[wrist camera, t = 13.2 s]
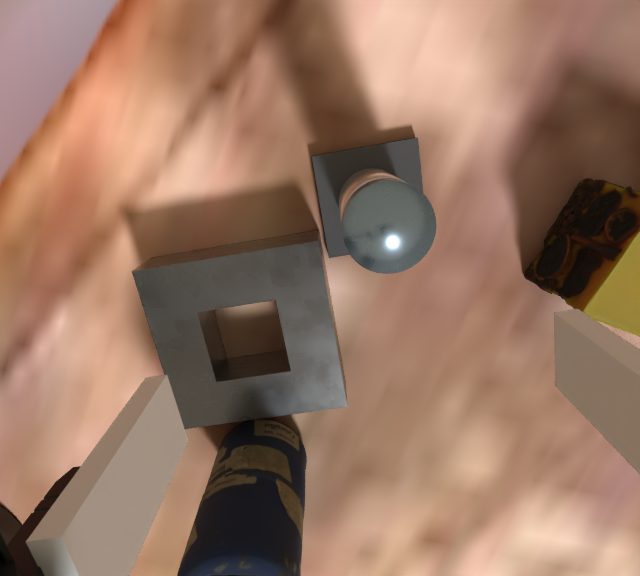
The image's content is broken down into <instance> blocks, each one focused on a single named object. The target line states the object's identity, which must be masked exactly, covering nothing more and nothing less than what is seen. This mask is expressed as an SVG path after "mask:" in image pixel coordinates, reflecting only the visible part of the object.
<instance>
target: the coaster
mask: <svg viewBox="0 0 640 576" xmlns="http://www.w3.org/2000/svg"><path fill="white" fill-rule="evenodd" d="M312 161H313V167H314V173H315V179H316V184H317V190H318V196H319V202H320V208H321V214H322V220H323V226H324V231H325V237H326V243H327V249H328V255H329V258H331V257H338V256H344V255H350V254H349V252H348V250H347V248H346V246H345V243H344V240H343V235H342V227H341V219H340V211H339V194H340V190H341V188H342V186H343V184H344V183H345V181H346V180H347V179H348V178H349V177H350V176H351V175H352V174H354V173H355V172H357V171H359V170H362V169H366V168H377V169H381V170H384V171H386V172H388V173H390V174H392V175H394V176H395V177H397V178H399V179H401V180H403V181H405V182H406V183H408V184H410V185H412V186H414V187H415V188H417V189H418V190H420V191H421V192H422V193H423V186H422V176H421V166H420V155H419V145H418V138H411V139H405V140H400V141H394V142H389V143H383V144H377V145H372V146H366V147H360V148H355V149H349V150H344V151H338V152H332V153H327V154H321V155H316V156H312Z"/></svg>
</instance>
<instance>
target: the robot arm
mask: <svg viewBox="0 0 640 576" xmlns="http://www.w3.org/2000/svg"><path fill="white" fill-rule="evenodd" d="M554 355H555V386H556V387H557V388H558V389H559V390H560V391H561V392H562V393H563V394H564V396H565V397H566V398H567V399H568V400H569V401H570V402H571V403H572V404H573V405H574V406H575V407H576V408H577V409H578V410H579V411H580V412H581V413H582V414H583V415H584V416H585V418H586V419H587V420H588V421H589V422H590V423H591V424H592V425H593V426H594V427H595V428H596V429H597V430H598V431H599V432H600V433H601V434H602V435H603V436H604V437H605V439H606V440H607V441H608V442H609V443H610V444H611V445H612V446H613V447H614V448H615V449H616V450H617V451H618V452H619V453H620V454H621V455H622V456H623V457H624V458H625V459H626V461H627V462H628V463H629V464H630V465H631V466H632V467H633V468H634V469H635V470H636V471H637V472H638V473H639V474H640V349H638V348H637V347H635V346H634V345H632V344H631V343H629V342H628V341H626V340H624V339H623V338H621V337H620V336H618V335H617V334H615V333H614V332H612V331H611V330H609V329H608V328H606V327H605V326H603V325H602V324H600V323H599V322H597V321H596V320H594V319H593V318H591V317H589V316H588V315H586V314H585V313H583V312H582V311H580V310H579V309H573V310H567V311H560V312H554ZM187 443H188V438H187V435H186V432H185V429H184V426H183V423H182V420H181V417H180V413H179V410H178V407H177V404H176V401H175V398H174V395H173V391H172V388H171V385H170V382H169V379H168V376H167V375H161V376H155V377H149V378H145V380H144V381H143V382H142V384H141V385H140V386H139V388H138V389H137V390H136V392H135V393H134V395H133V396H132V397H131V399H130V400H129V401H128V403H127V404H126V405H125V407H124V408H123V410H122V411H121V412H120V414H119V415H118V416H117V418H116V419H115V420H114V422H113V423H112V425H111V426H110V427H109V429H108V430H107V431H106V433H105V434H104V436H103V437H102V438H101V440H100V441H99V442H98V444H97V445H96V446H95V448H94V449H93V451H92V452H91V453H90V455H89V456H88V457H87V459H86V460H85V461H84V463H83V464H82V466H80V467H73V468H72V469H71V470H70V471H68V472H67V473H66V474H65V475H64V476H62V477H61V478H60V479H59V480H58V481H56V482H55V484H54V485H53V486H52V488H51V489H50V490H49V491H48V493H47V494H46V495H45V497H44V500H42V501H41V502H40V503H39V504H38V506H37V507H36V508H35V510H34V513H31V515H30V516H29V517H28V519H27V520H26V521H25V523H24V524H23V525H22V526H21V525H20V524H19V522H18V521H17V520H16V519H15V518H14V517H13V516H12V515H11V514H10V513H9V512H8V511H6V510H5V509H4V508H2V507H1V506H0V576H130V573H131V571H132V569H133V566H134V564H135V562H136V560H137V557H138V555H139V553H140V550H141V548H142V546H143V544H144V541H145V539H146V537H147V534H148V532H149V530H150V528H151V525H152V523H153V521H154V518H155V516H156V514H157V512H158V509H159V507H160V505H161V502H162V500H163V498H164V496H165V493H166V491H167V489H168V486H169V484H170V482H171V480H172V477H173V475H174V473H175V470H176V468H177V466H178V464H179V461H180V459H181V457H182V454H183V452H184V450H185V448H186V445H187Z"/></svg>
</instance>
